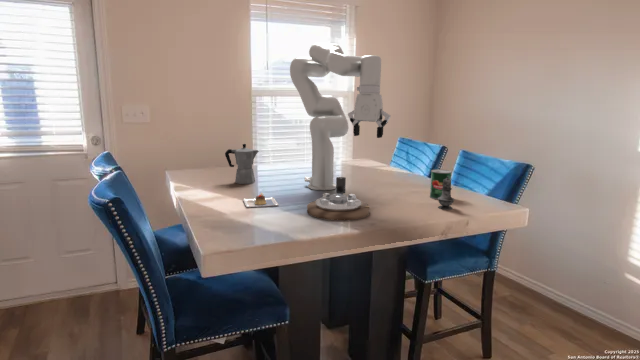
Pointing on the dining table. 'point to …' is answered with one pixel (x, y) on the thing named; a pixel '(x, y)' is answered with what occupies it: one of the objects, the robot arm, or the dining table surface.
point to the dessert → (260, 201)
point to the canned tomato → (438, 182)
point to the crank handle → (338, 199)
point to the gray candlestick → (446, 195)
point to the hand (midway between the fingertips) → (367, 136)
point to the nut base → (338, 213)
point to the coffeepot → (243, 164)
